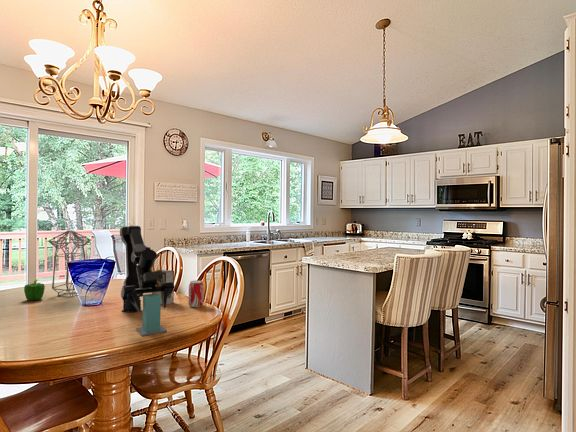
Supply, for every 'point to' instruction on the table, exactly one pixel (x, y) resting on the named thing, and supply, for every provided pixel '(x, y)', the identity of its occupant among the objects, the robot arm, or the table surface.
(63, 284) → the geometric lantern
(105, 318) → the table surface
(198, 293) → the soda can
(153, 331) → the plate
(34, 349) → the table surface
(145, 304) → the teal rectangular block
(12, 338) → the table surface
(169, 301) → the coffee box
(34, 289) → the bell pepper
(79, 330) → the table surface
